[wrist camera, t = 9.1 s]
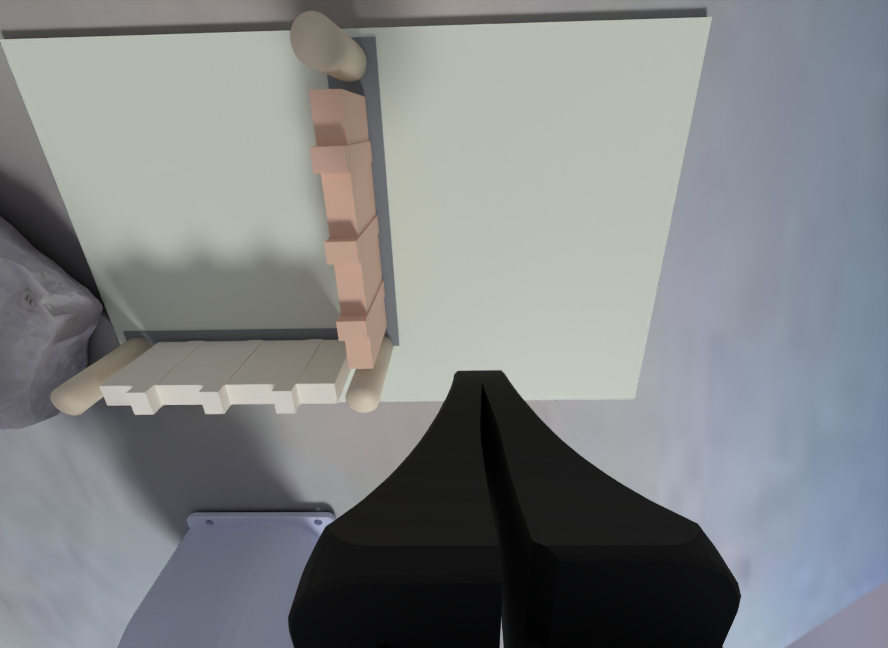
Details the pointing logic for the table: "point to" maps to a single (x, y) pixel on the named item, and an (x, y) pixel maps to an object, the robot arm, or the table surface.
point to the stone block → (38, 330)
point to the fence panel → (345, 184)
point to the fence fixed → (224, 376)
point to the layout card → (383, 189)
